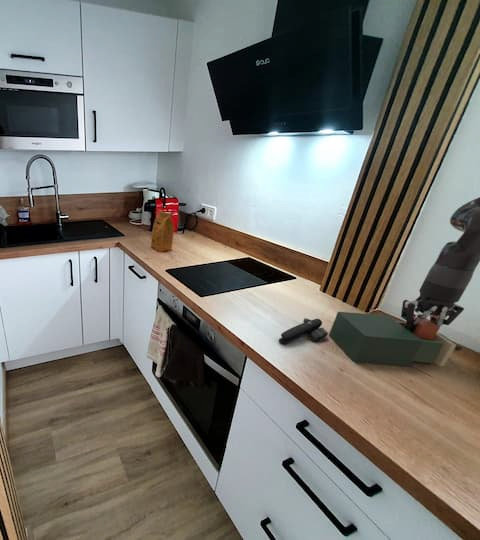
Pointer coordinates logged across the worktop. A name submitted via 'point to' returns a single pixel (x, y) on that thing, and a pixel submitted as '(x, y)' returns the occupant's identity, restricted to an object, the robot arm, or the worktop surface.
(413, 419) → the worktop surface
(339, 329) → the cabinet
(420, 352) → the drawer
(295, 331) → the can opener
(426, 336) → the block
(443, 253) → the robot arm
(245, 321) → the worktop surface
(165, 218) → the coffee package
